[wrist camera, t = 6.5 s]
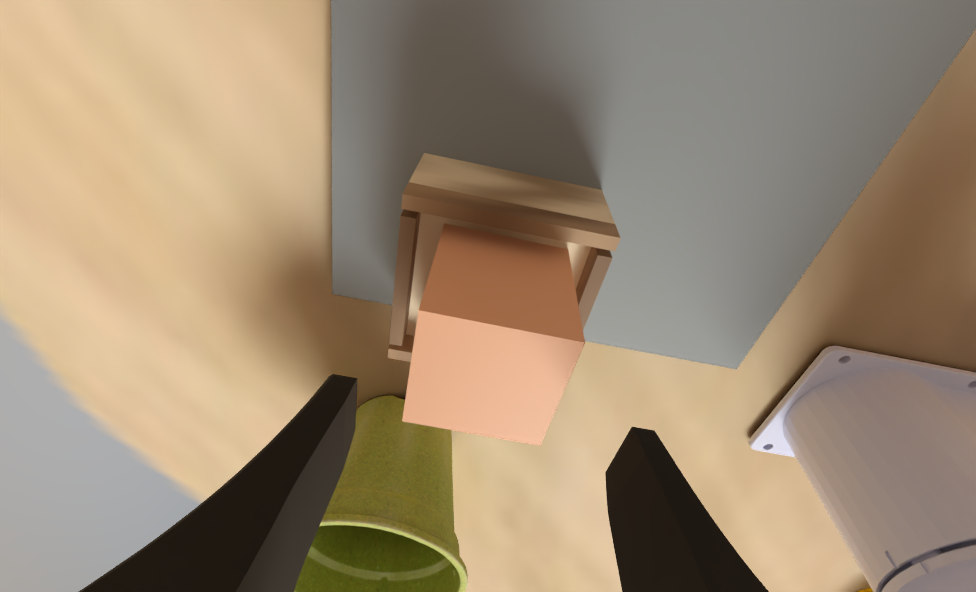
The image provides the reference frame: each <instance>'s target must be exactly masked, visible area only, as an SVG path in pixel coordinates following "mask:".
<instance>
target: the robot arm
mask: <svg viewBox="0 0 976 592" xmlns="http://www.w3.org/2000/svg"><path fill="white" fill-rule="evenodd" d="M841 357H842V358H841ZM356 400H357V378H352V377H346V376H341V375H335V374H333V375H331V376H329V377H328V378H327V380H326V381H325V382H324V383H323V385H322V386H321V387H320V388H319V389H318V391H317V392H316V393H315V394H314V395H313V397H312V398H311V399H310V400H309V401H308V402H307V404H306V405H305V406H304V407H303V408H302V409H301V410H300V411H299V412H298V414H297V415H296V416H295V417H294V418H293V419H292V420H291V421H290V422H289V423H288V424H287V425H286V426H285V427H284V428H283V429H282V430H281V431H280V432H279V433H278V435H277V436H276V437H275V438H274V439H273V440H272V441H271V442H270V443H269V444H268V445H267V446H266V447H265V448H263V449H262V450H261V451H260V452H259V453H258V454H257V455H256V456H255V457H254V458H253V459H252V460H251V461H250V462H249V463H248V464H246V465H245V466H244V467H243V468H242V469H241V470H240V471H239V472H238V473H237V474H236V475H235V476H233V477H232V478H231V479H230V480H229V481H228V482H227V483H225V484H224V485H223V486H222V487H221V488H220V489H218V490H217V491H216V492H215V493H214V494H212V495H211V496H210V497H209V498H208V499H206V500H205V501H204V502H203V503H202V504H200V505H199V506H198V507H197V508H195V509H194V510H193V511H192V512H190V513H189V514H188V515H186V516H185V517H184V518H182V519H181V520H180V521H179V522H177V523H176V524H175V525H173V526H172V527H171V528H170V529H168V530H167V531H166V532H164V533H163V534H162V535H160V536H159V537H157V538H156V539H155V540H153V541H152V542H151V543H149V544H148V545H147V546H145V547H144V548H142V549H141V550H140V551H138V552H137V553H135V554H134V555H132V556H131V557H130V558H128V559H126V560H125V561H123V562H122V563H120V564H119V565H118V566H116V567H115V568H113V569H112V570H110V571H109V572H107V573H106V574H104V575H103V576H101V577H100V578H98V579H97V580H95V581H94V582H93V583H91V584H90V585H88V586H87V587H85V588H84V589H82V590H80V591H79V592H294V590H295V587H296V584H297V581H298V578H299V575H300V572H301V570H302V567H303V564H304V562H305V559H306V557H307V554H308V552H309V549H310V547H311V545H312V542H313V540H314V538H315V535H316V533H317V531H318V528H319V526H320V523H321V521H322V519H323V516H324V514H325V512H326V509H327V507H328V505H329V502H330V500H331V498H332V495H333V493H334V490H335V488H336V486H337V483H338V481H339V479H340V476H341V474H342V471H343V469H344V466H345V463H346V459H347V456H348V453H349V450H350V446H351V443H352V440H353V436H354V433H355V425H356ZM748 443H749V445H750V447H751V448H752V449H753V450H757V451H763V452H768V453H774V454H780V455H786V456H791V457H796V458H797V460H798V462H799V464H800V465H801V467H802V469H803V471H804V472H805V474H806V476H807V478H808V479H809V481H810V483H811V485H812V486H813V488H814V490H815V492H816V493H817V495H818V497H819V498H820V500H821V502H822V504H823V505H824V507H825V509H826V511H827V512H828V514H829V516H830V518H831V519H832V521H833V523H834V525H835V526H836V528H837V530H838V531H839V533H840V535H841V537H842V538H843V540H844V542H845V544H846V545H847V547H848V549H849V551H850V552H851V554H852V556H853V558H854V559H855V561H856V563H857V564H858V566H859V568H860V570H861V571H862V573H863V575H864V577H865V578H866V580H867V582H868V584H869V585H870V587H871V589H872V591H873V592H976V372H971V371H965V370H960V369H955V368H950V367H945V366H940V365H934V364H929V363H924V362H919V361H914V360H908V359H903V358H898V357H893V356H888V355H882V354H877V353H872V352H867V351H862V350H856V349H851V348H846V347H841V346H829V347H827V348H825V349H824V350H823V351H822V352H821V353H820V354H819V355H818V357H817V358H816V359H815V360H814V361H813V363H812V364H811V365H810V366H809V367H808V369H807V370H806V371H805V372H804V374H803V375H802V376H801V377H800V378H799V380H798V381H797V382H796V383H795V384H794V386H793V387H792V388H791V389H790V390H789V392H788V393H787V394H786V395H785V397H784V398H783V399H782V400H781V401H780V403H779V404H778V405H777V406H776V407H775V409H774V410H773V411H772V412H771V413H770V415H769V416H768V417H767V418H766V420H765V421H764V422H763V423H762V424H761V426H760V427H759V428H758V429H757V430H756V432H755V433H754V434H753V435H752V436H751V438H750V439H749V441H748ZM606 491H607V506H608V515H609V521H610V527H611V532H612V538H613V543H614V549H615V554H616V559H617V565H618V570H619V575H620V581H621V586H622V592H769V591H768V590H767V589H766V588H765V587H764V586H763V584H762V583H761V582H760V581H759V580H758V578H757V577H756V576H755V575H754V574H753V572H752V571H751V570H750V569H749V567H748V566H747V565H746V563H745V562H744V561H743V560H742V558H741V557H740V556H739V554H738V553H737V552H736V550H735V549H734V548H733V546H732V545H731V544H730V542H729V541H728V540H727V538H726V537H725V536H724V534H723V533H722V532H721V530H720V529H719V527H718V526H717V525H716V523H715V522H714V520H713V519H712V518H711V516H710V515H709V513H708V512H707V510H706V509H705V507H704V506H703V505H702V503H701V502H700V500H699V499H698V497H697V496H696V494H695V493H694V491H693V490H692V488H691V487H690V485H689V484H688V482H687V481H686V479H685V478H684V476H683V474H682V473H681V471H680V470H679V468H678V467H677V465H676V464H675V462H674V460H673V459H672V457H671V456H670V454H669V453H668V451H667V450H666V448H665V446H664V445H663V443H662V442H661V440H660V439H659V437H658V436H657V434H656V433H655V431H653V430H647V429H642V428H636V427H632V428H631V429H630V431H629V433H628V435H627V436H626V438H625V440H624V441H623V443H622V445H621V447H620V448H619V450H618V452H617V454H616V455H615V457H614V459H613V460H612V462H611V464H610V466H609V467H608V469H607V471H606Z"/></svg>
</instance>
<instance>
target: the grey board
mask: <svg viewBox="0 0 976 592" xmlns="http://www.w3.org/2000/svg"><path fill="white" fill-rule="evenodd" d="M975 29H976V0H331V78H332V294H335V295H340V296H345V297H351V298H356V299H361V300H367V301H372V302H378V303H383V304H388V305H392V303H393V292H394V281H395V270H396V259H397V249H398V238H399V227H400V216H401V214H402V212H403V210H404V209H401V205H402V194H403V192H404V190H405V188H406V186H407V184H408V183H409V181H410V179H411V177H412V175H413V173H414V171H415V169H416V167H417V165H418V164H419V162H420V160H421V158H422V156H423V154H424V153H427V154H432V155H437V156H441V157H446V158H451V159H456V160H461V161H465V162H470V163H475V164H480V165H485V166H489V167H494V168H499V169H504V170H508V171H513V172H518V173H523V174H528V175H532V176H537V177H542V178H547V179H552V180H556V181H561V182H566V183H571V184H575V185H580V186H585V187H590V188H595V189H599V190H602V191H603V194H604V197H605V199H606V202H607V204H608V207H609V209H610V212H611V215H612V217H613V220H614V222H615V225H616V227H617V230H618V233H619V235H620V238H621V239H620V241H619V243H618V246H617V248H616V251H610V252H611V255H612V261H611V263H610V266H609V268H608V270H607V273H606V275H605V278H604V280H603V283H602V285H601V288H600V290H599V293H598V295H597V298H596V300H595V302H594V305H593V307H592V310H591V312H590V315H589V317H588V320H587V322H586V325H585V327H584V329H583V334H584V339H585V341H587V342H592V343H598V344H603V345H609V346H614V347H619V348H625V349H630V350H635V351H641V352H646V353H652V354H657V355H662V356H668V357H673V358H678V359H684V360H689V361H695V362H700V363H705V364H711V365H716V366H721V367H727V368H732V369H737V368H738V366H739V365H740V364H741V362H742V361H743V359H744V358H745V356H746V355H747V354H748V352H749V351H750V349H751V348H752V346H753V345H754V344H755V342H756V341H757V339H758V338H759V337H760V335H761V334H762V332H763V331H764V329H765V328H766V327H767V325H768V324H769V322H770V321H771V319H772V318H773V317H774V315H775V314H776V312H777V311H778V309H779V308H780V307H781V305H782V304H783V302H784V301H785V300H786V298H787V297H788V295H789V294H790V292H791V291H792V290H793V288H794V287H795V285H796V284H797V282H798V281H799V280H800V278H801V277H802V275H803V274H804V273H805V271H806V270H807V268H808V267H809V265H810V264H811V263H812V261H813V260H814V258H815V257H816V255H817V254H818V253H819V251H820V250H821V248H822V247H823V245H824V244H825V243H826V241H827V240H828V238H829V237H830V236H831V234H832V233H833V231H834V230H835V228H836V227H837V226H838V224H839V223H840V221H841V220H842V218H843V217H844V216H845V214H846V213H847V211H848V210H849V208H850V207H851V206H852V204H853V203H854V201H855V200H856V199H857V197H858V196H859V194H860V193H861V191H862V190H863V189H864V187H865V186H866V184H867V183H868V181H869V180H870V179H871V177H872V176H873V174H874V173H875V171H876V170H877V169H878V167H879V166H880V164H881V163H882V162H883V160H884V159H885V157H886V156H887V154H888V153H889V152H890V150H891V149H892V147H893V146H894V144H895V143H896V142H897V140H898V139H899V137H900V136H901V135H902V133H903V132H904V130H905V129H906V127H907V126H908V125H909V123H910V122H911V120H912V119H913V117H914V116H915V115H916V113H917V112H918V110H919V109H920V107H921V106H922V105H923V103H924V102H925V100H926V99H927V98H928V96H929V95H930V93H931V92H932V90H933V89H934V88H935V86H936V85H937V83H938V82H939V80H940V79H941V78H942V76H943V75H944V73H945V72H946V70H947V69H948V68H949V66H950V65H951V63H952V62H953V61H954V59H955V58H956V56H957V55H958V53H959V52H960V51H961V49H962V48H963V46H964V45H965V43H966V42H967V41H968V39H969V38H970V36H971V35H972V33H973V32H974V31H975Z"/></svg>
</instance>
